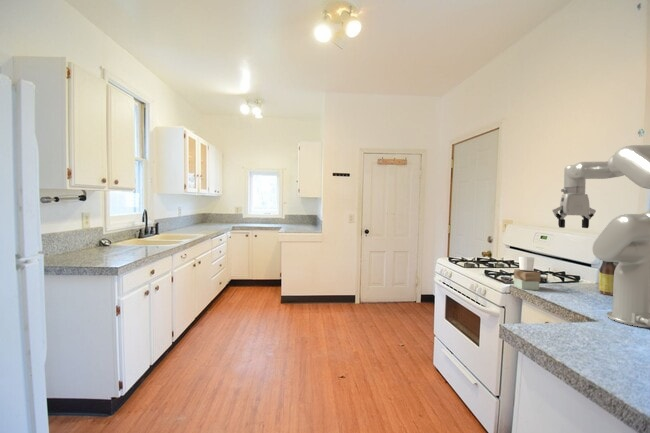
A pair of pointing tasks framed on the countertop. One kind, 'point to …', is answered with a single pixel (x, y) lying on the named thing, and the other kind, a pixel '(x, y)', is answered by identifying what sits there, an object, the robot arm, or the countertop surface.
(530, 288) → the lower block
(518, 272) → the upper block
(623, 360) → the countertop surface
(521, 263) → the shot glass
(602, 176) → the robot arm
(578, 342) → the countertop surface
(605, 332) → the countertop surface
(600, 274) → the sauce bottle
